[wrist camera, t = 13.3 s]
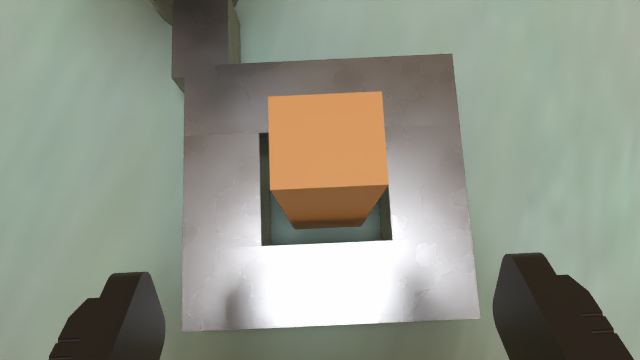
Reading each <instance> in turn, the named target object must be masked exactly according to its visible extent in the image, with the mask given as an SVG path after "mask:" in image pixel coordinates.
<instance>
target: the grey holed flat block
mask: <svg viewBox="0 0 640 360" xmlns="http://www.w3.org/2000/svg"><path fill="white" fill-rule="evenodd" d="M237 1H238V0H151V2H152V3H153V5H154V6H155V8H156V10H157V11H158V13H159V14H160V15H161V17H162V18H163V19H164V20H165V21H167V22H168V23H169V24H171V25H173V27H172V79H173V80H174V81H175V83H176V84H177V85H178V87H179V88H180V89H181V90H182V92H183V93H184V176H183V258H182V332H192V331H214V330H236V329H258V328H281V327H303V326H325V325H347V324H370V323H392V322H414V321H436V320H459V319H480V311H479V301H478V292H477V283H476V273H475V264H474V254H473V245H472V236H471V226H470V217H469V208H468V198H467V189H466V179H465V170H464V161H463V151H462V142H461V133H460V123H459V114H458V104H457V95H456V86H455V76H454V67H453V58H452V54H434V55H413V56H391V57H370V58H349V59H328V60H307V61H285V62H264V63H243V64H240V23H239V20H238V17H237V15H236V12H235V9H234V7H235V5H236V3H237ZM377 91H382V100H383V114H384V127H385V141H386V154H387V168H388V181H389V185H388V186H387V188H386V189H385V191H384V192H383V194H382V195H381V197H380V198H379V207H380V221H381V236H382V241H366V242H344V243H322V244H300V245H278V246H271V208H270V167H269V122H268V97H270V96H292V95H313V94H335V93H356V92H377Z"/></svg>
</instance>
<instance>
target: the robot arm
mask: <svg viewBox="0 0 640 360" xmlns="http://www.w3.org/2000/svg"><path fill="white" fill-rule="evenodd" d="M493 316H494V321H495V325H496V328H497V331H498V333H499V335H500V338H501V340H502V343H503V345H504V347H505V350H506V352H507V355H508V357H509V359H510V360H634V359H633V357H632V356H631V354H630V353H629V351H628V350H627V348H626V347H625V345H624V344H623V342H622V341H621V339H620V338H619V336H618V335H617V333H614V329H613V327H612V326H611V324H610V323H609V321H608V320H607V318H606V317H605V316H603V315H602V311H601V309H600V308H599V306H598V305H597V303H596V302H595V300H594V299H593V297H592V296H591V294H590V293H589V291H587V290H586V289H585V288H584V287H582V286H581V285H580V284H579V283H578V282H576V281H575V280H574V279H573V278H571V277H570V276H569V275H556V273H555V272H554V270H553V268H552V267H551V265H550V263H549V262H548V260H547V259H546V257H545V256H544V255H543V254H542V253H539V252H538V253H519V254H506V255H505V256H504V257H503V260H502V263H501V268H500V272H499V277H498V281H497V285H496V290H495V294H494V298H493ZM164 339H165V319H164V315H163V312H162V309H161V305H160V302H159V299H158V296H157V293H156V290H155V287H154V284H153V281H152V278H151V275H150V274H149V273H148V272H129V273H113V274H112V275H110V277H109V278H108V280H107V282H106V285H105V287H104V289H103V291H102V293H101V295H100V298H88V299H87V300H86V301H85V302H84V303H83V304H82V305H81V306H80V307H79V308H78V309H77V310H76V311H75V312H74V313H73V314H72V315H71V316H70V317H69V318H68V320H67V322H66V324H65V326H64V328H63V330H62V332H61V334H60V336H59V338H58V343H56V344H55V346H54V348H53V350H52V352H51V354H50V355H49V360H159V359H160V355H161V352H162V348H163V344H164Z"/></svg>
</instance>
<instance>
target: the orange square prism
mask: <svg viewBox="0 0 640 360" xmlns="http://www.w3.org/2000/svg"><path fill="white" fill-rule="evenodd" d="M268 122H269V164H270V191H271V192H272V194H273V195H274V197H275V198H276V200H277V202H278V203H279V205H280V206H281V208H282V209H283V211H284V213H285V214H286V216H287V217H288V219H289V220H290V222H291V223H292V225H293V227H294V228H295V229H312V228H334V227H356V226H362V224H363V222H364V221H365V219H366V218H367V216H368V215H369V213H370V212H371V210H372V209H373V207H374V206H375V204H376V203H377V201H378V200H379V198H380V197H381V195H382V194H383V192H384V191H385V189H386V188H387V186H388V185H389V181H388V168H387V154H386V141H385V127H384V114H383V100H382V91H377V92H356V93H335V94H313V95H292V96H270V97H268Z"/></svg>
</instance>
